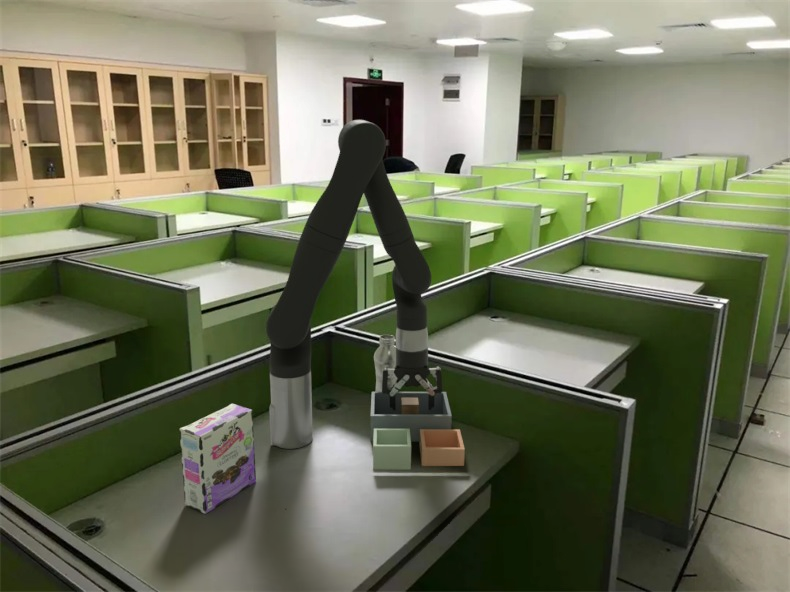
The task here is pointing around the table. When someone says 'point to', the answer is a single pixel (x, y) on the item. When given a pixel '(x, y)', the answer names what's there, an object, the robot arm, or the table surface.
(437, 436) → the peach square tray
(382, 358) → the plastic bottle
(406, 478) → the table surface
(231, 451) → the candy box
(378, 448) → the pale green open box
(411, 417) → the slate bin
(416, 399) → the walnut block
